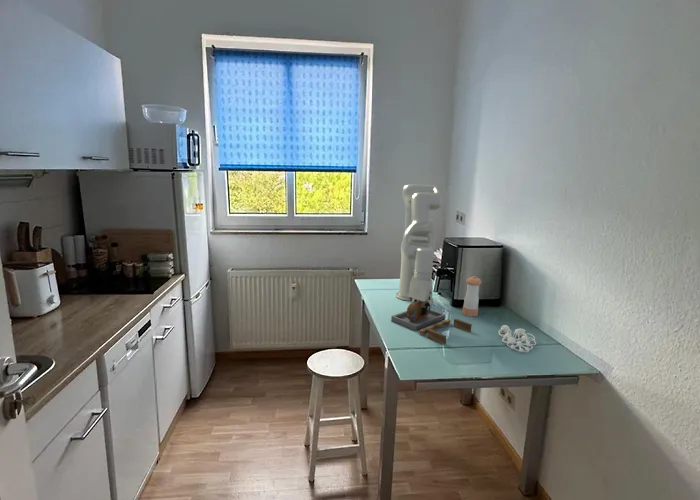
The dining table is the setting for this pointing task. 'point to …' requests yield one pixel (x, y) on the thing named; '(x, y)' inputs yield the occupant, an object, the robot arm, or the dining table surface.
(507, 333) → the tangled rod sculpture
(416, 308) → the tin
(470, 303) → the pepper shaker
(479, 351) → the dining table surface
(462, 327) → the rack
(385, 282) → the dining table surface
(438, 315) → the tray
